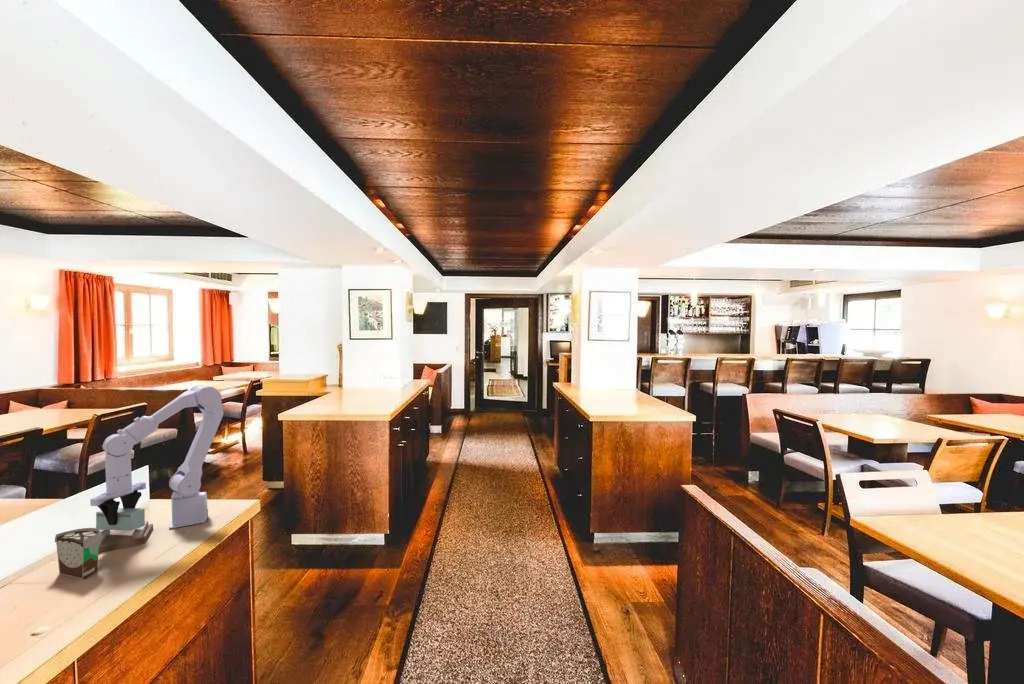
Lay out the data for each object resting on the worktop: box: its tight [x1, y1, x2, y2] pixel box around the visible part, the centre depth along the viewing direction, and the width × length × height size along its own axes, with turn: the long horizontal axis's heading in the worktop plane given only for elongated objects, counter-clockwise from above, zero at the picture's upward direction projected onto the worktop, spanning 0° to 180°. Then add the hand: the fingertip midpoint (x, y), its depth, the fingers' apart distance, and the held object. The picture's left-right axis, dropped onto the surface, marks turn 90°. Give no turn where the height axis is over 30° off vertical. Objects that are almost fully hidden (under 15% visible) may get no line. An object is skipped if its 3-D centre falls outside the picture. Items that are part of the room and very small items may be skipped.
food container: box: [54, 527, 103, 580], centre depth 116 cm, size 12×6×10 cm, turn 71°
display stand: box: [99, 520, 154, 553], centre depth 133 cm, size 13×12×3 cm
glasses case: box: [95, 507, 146, 531], centre depth 133 cm, size 12×4×5 cm, turn 81°
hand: (120, 521), depth 133 cm, fingers closed on glasses case, 4 cm apart
